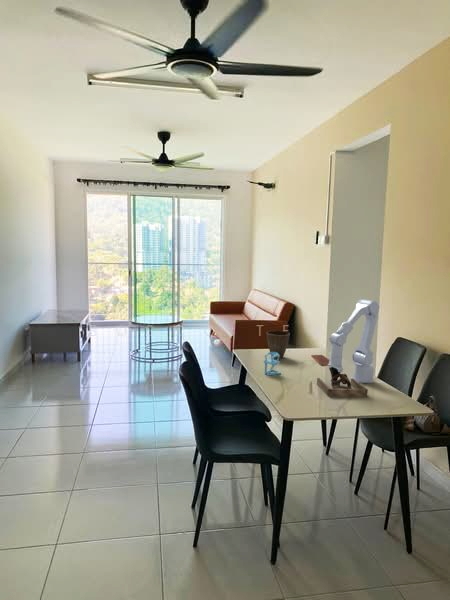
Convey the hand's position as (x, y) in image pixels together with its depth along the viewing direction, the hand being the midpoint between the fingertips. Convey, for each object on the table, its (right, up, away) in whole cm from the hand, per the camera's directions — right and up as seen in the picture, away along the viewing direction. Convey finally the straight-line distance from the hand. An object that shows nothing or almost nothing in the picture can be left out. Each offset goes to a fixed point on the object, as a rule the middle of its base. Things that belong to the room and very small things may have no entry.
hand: (334, 381), depth 211 cm
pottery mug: (+2, -2, -5) cm, 6 cm away
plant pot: (-24, +6, +50) cm, 56 cm away
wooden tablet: (+5, +3, +47) cm, 47 cm away
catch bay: (+1, -3, -9) cm, 9 cm away
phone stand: (-31, +1, +14) cm, 35 cm away
